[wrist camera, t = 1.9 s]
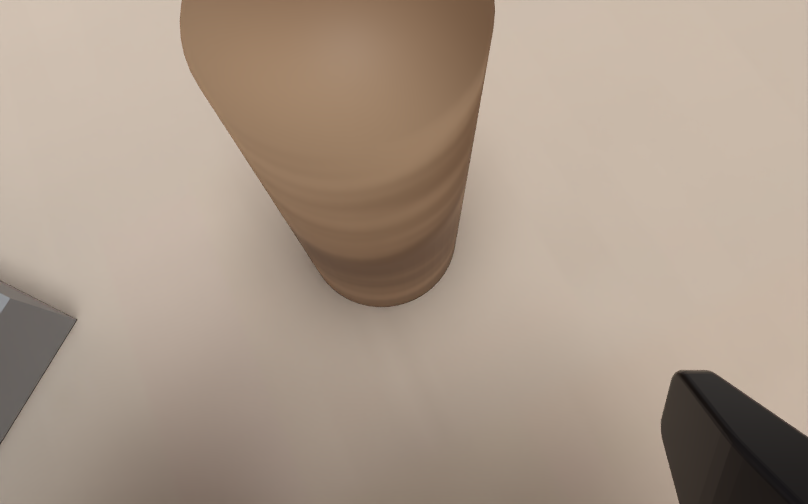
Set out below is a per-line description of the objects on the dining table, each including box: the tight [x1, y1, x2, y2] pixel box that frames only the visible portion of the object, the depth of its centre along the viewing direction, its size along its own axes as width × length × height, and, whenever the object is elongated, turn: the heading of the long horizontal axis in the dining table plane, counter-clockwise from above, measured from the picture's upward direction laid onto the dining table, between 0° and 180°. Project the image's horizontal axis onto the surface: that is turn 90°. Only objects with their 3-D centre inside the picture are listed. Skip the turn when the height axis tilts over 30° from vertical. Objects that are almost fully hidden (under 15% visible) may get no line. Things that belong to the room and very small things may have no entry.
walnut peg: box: [180, 0, 495, 307], centre depth 16 cm, size 5×5×12 cm
